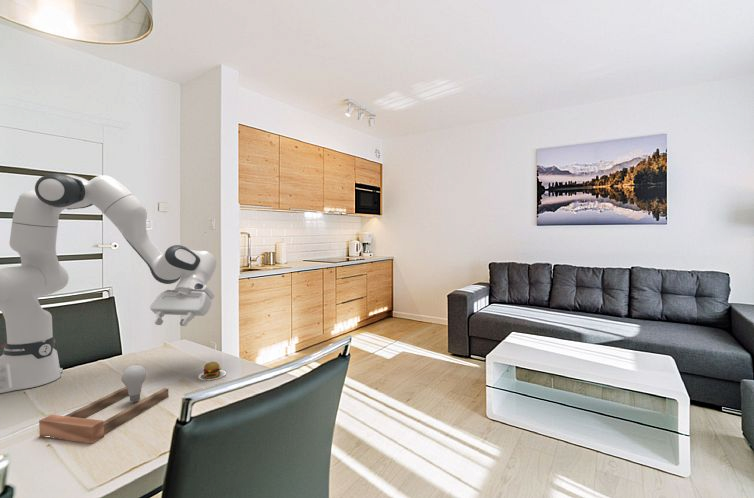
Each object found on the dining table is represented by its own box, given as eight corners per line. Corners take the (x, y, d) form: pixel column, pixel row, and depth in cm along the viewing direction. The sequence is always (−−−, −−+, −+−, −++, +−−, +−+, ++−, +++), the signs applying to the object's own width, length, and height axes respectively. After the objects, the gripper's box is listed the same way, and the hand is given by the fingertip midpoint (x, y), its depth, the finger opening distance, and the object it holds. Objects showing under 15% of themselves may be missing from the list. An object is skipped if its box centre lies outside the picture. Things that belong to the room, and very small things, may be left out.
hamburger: (236, 371, 134) (236, 356, 133) (221, 385, 122) (221, 368, 121) (204, 370, 134) (203, 356, 134) (186, 384, 122) (185, 368, 122)
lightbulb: (145, 395, 112) (144, 360, 112) (148, 402, 107) (147, 366, 107) (121, 401, 108) (120, 364, 108) (123, 409, 104) (122, 371, 103)
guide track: (127, 392, 114) (126, 379, 114) (170, 396, 111) (170, 383, 111) (39, 436, 90) (39, 420, 90) (92, 443, 87) (91, 427, 87)
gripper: (158, 284, 130) (137, 318, 121) (210, 285, 126) (192, 320, 117) (168, 295, 134) (148, 328, 125) (218, 296, 131) (201, 330, 121)
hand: (169, 324), depth 121 cm, fingers open, 8 cm apart
